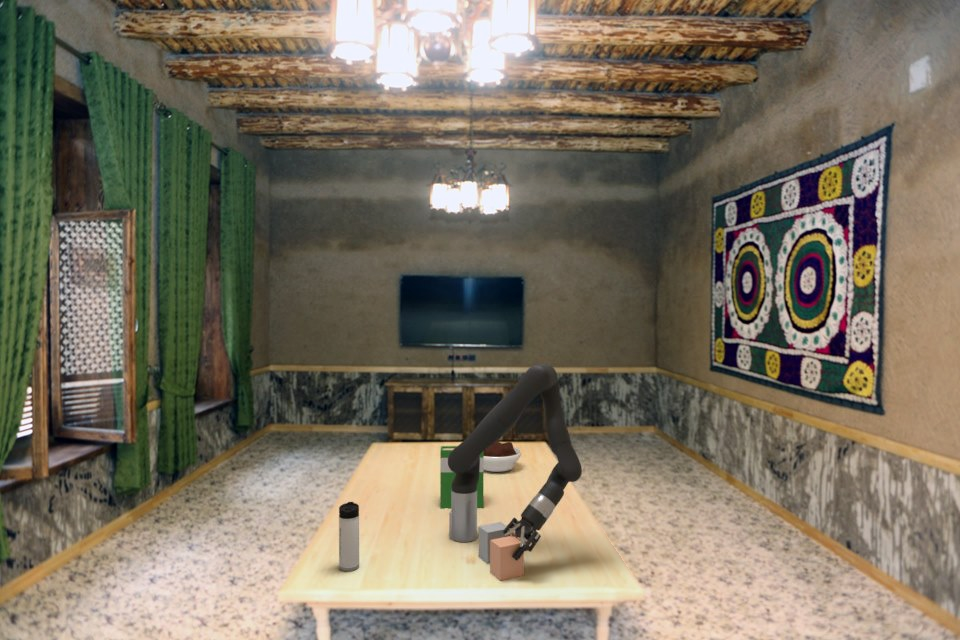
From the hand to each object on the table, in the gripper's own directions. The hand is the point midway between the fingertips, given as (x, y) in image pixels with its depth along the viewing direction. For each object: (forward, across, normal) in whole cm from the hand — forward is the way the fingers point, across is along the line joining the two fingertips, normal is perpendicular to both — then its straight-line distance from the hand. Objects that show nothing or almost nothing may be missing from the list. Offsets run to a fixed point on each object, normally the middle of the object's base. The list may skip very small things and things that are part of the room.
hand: (507, 553), depth 186 cm
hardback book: (-6, -63, +15) cm, 65 cm away
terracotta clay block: (+4, 0, +4) cm, 6 cm away
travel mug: (+35, -27, -26) cm, 51 cm away
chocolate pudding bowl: (-34, -103, +43) cm, 117 cm away
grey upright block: (+3, -12, +6) cm, 14 cm away
